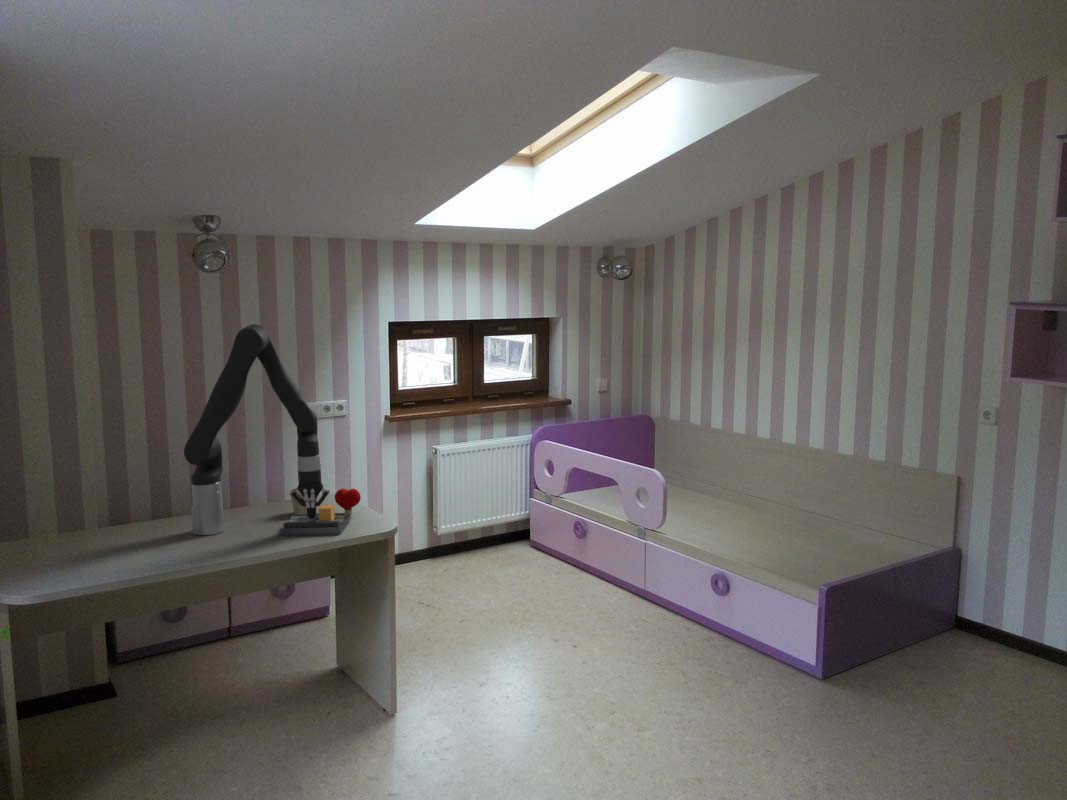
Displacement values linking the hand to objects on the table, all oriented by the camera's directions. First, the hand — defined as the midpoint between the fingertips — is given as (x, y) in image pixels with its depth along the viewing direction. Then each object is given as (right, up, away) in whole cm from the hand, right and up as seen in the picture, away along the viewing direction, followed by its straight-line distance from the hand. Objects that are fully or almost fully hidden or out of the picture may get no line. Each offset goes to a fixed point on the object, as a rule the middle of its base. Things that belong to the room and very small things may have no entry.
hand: (312, 517), depth 277 cm
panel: (+1, -4, 0) cm, 4 cm away
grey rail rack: (+1, -1, 0) cm, 2 cm away
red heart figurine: (+9, -2, +15) cm, 18 cm away
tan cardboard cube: (+5, -1, 0) cm, 5 cm away
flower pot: (-9, -1, +21) cm, 23 cm away
